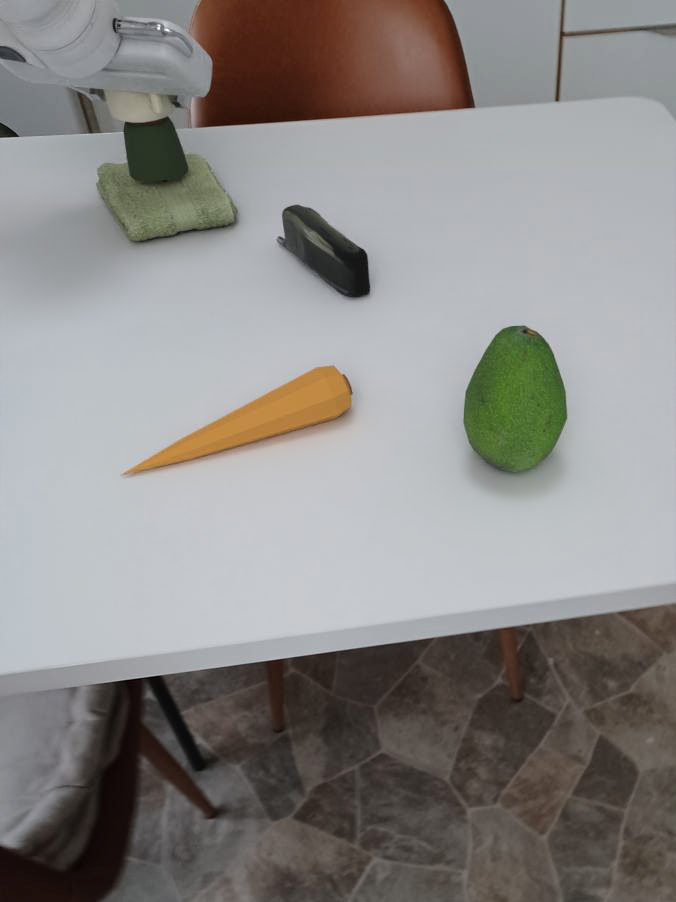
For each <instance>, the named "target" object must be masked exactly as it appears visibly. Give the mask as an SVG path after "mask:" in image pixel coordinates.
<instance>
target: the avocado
mask: <svg viewBox="0 0 676 902" xmlns="http://www.w3.org/2000/svg"><path fill="white" fill-rule="evenodd" d="M563 380H564V379H563V377H562V375H561V372H560V368H559V365H558V362H557V359H556V357H555V353H554V352H553V350H552V348H551V345H550V344H549V342H548V341H547V340H546V339H545V338H544V337H543V335H542V334H541V333H540V332H538V331H536V330H534V329H531V328H530V327H528V326H526V325H523V324H522V325H511V326H507V327H503V328H502V329H500V331H498V333H496V335H495V336H493V339H492V340H491V341H490V343H489V344H488V346H487V347H486V349H485V350H484V352H483V355H482V356H481V358H480V360H479V362H478V364H477V365H476V368H475V369H474V371H473V374H472V375H471V378H470V379H469V383H468V385H467V388H466V390H465V395H464V405H463V418H462V419H463V420H462V423H463V426H464V430H465V434H466V436H467V440H468V443H469V444H470V446H471V448H472V450H473V451H474V452H475V453H476V454H477V455H478V456H479V457H481V458H482V459H483V460H484V461H485V462H486V463H487V464H489V465H491V466H492V467H494V468H496V469H498V470H499V471H505V472H513V473H518V472H522V471H527V470H530V469H532V468H535V466H537V465H538V464H539V463H541V461H543V460H545V459H546V458H547V457H548V456H549V455H550V454H551V453H552V451H553V449H555V447H556V445H557V443H558V441H559V439H560V437H561V434H562V432H563V429H564V427H565V425H566V423H567V421H568V407H567V406H568V405H567V391H566V388H565V384H564V381H563Z"/></svg>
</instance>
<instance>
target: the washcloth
mask: <svg viewBox="0 0 676 902" xmlns="http://www.w3.org/2000/svg"><path fill="white" fill-rule="evenodd" d="M184 155H185V158H186V161H187V164H188V173H187V174H185V175H184V176H183V177H181V178H175V179H168V180H167V182H163V181H162V180H161V181H151V182H142V181H136V180H134V179H133V178H132V177H131V176H130V173H129V168H128V162H124V163H115V162H104V163H102V164H100V166H99V167H97V168H96V170H97V172H96V174H97V177H98V181H97V182H95V186H96V190H97V191H98V192H99V194H100V196H101V199H102V200H103V201H104V202H105V203H106V206H107V208H108V210H109V211H110V213H111V215H112V216H113V218H114V219H115V222H116V223H117V225H118V226H119V227H120V228H121V229H122V231H123V232H124V234H125V235H126V237H127V238H128V240H129V241H132V242H133V241H134V242H141V241H143V242H144V241H147V240H150V239H154V238H158V237H162V238H163V237H166V236H167V237H172V236H175V235H177V233H179V232H185V231H191V230H197V231H199V230H201V231H203V230H207V229H211V228H218V227H219V228H220V227H224V226H225V227H227V226H230V224H232V223H234V222H235V221H236V218H235V217H236V216H237V215H238V214H239V209H238V207H237V206H236V205H235V204H234V202H233V198H232V197H231V195H229V194H228V193H227V192H226V191H227V190H226V189H225V187H223V185H222V184H221V182H220V181H219V180H218V179H217V177H216V175H215V173H214V172H213V171H212V167H211V166H210V164H209V163H208V161H207V160H206V158H204V156H202V155H201V154H198V153H189V152H188V153H184Z"/></svg>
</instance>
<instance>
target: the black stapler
mask: <svg viewBox="0 0 676 902" xmlns="http://www.w3.org/2000/svg"><path fill="white" fill-rule="evenodd" d="M281 220H282V227H283V233H284V237H282V236H281V235H280V236H277V237H276V242H277V243H279V244H280V245H281V246H283V247H284V248H286V249H287V250H289V251H290V252H292V253H293V254H294V255H295V256H296V257H298V258H299V259H300V261H301V262H303V263H304V264H305V265H306V266H308V267H309V268H311V269H312V270H313V271H314V272H315V273H317V275H319V276H320V277H321V278H322V279H323V280H324V281H325V282H327V283H328V284H329V285H331V287H333V288H334V289H335V290H336V291H338V292H339V293H340V294H341V295H344V296H347V297H353V298H355V297H360V296H361V297H362V296H364V295H367V294H369V293H370V292H371V284H370V283H371V282H370V269H369V257H368V252H366V250H365V249H363V248H362V247H361V246H359V245H357V244H356V243H354V241H351V240H350V239H349V238H348V237H346V236H345V235H344V234H343V233H341V231H339V230H337V228H335V227H333V226H332V225H331V224H330V223H329V222H328V221H327V220H326V219H325V218H324V217H322V215H321V214H320V213H319V212H317V211H316V210H315V209H313V208H311V207H308V206H302V205H300V204H292V205H289V206H287V207H285V208H284V209H283V210H282V212H281Z"/></svg>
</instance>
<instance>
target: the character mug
mask: <svg viewBox="0 0 676 902" xmlns="http://www.w3.org/2000/svg"><path fill="white" fill-rule="evenodd" d="M104 93H105V97H106V104H107V107H108V110H109V112H110V115H111V118H113V119H115V120H118V121H120V122H124V125H123V130H122V131H123V139H124V147H125V154H126V161H127V162H126V163H128V168H129V173H130V176H131V177H132V178H133V179H134V180H136V181H142V182H151V181H161V180H162V181H163V182H167V180H168V179H175V178H181V177H183V176H184V175H185V174H187V173H188V164H187V161H186V158H185V155H184V154H185V152H184V148H183V146H182V143H181V140H180V137H179V135H178V132H177V129H176V127H175V124H174V122H173V121H172V119H171V118H170V117H169V116H170V115H171V114H173V113H174V112H175V111H176V110H177V108H176V107H175V105H173V104H172V103H171V102H170V95H165V94H153V93H142V92H130V91H118V90H107V89H104Z"/></svg>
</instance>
